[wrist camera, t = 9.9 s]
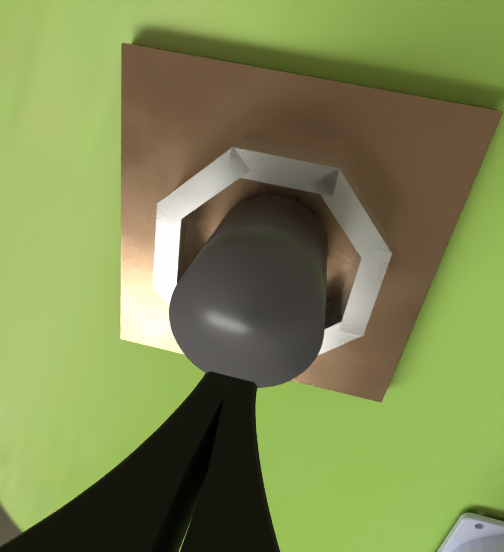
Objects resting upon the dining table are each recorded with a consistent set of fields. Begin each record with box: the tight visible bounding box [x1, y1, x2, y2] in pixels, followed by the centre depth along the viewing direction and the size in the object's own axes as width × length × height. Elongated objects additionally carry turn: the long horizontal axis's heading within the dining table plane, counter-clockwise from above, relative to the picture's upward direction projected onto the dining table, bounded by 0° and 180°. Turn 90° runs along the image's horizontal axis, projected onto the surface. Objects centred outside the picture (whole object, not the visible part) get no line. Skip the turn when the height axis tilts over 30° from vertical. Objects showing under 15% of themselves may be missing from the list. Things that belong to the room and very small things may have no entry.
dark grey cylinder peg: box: [169, 196, 328, 388], centre depth 16 cm, size 5×5×6 cm
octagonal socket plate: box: [121, 43, 503, 402], centre depth 18 cm, size 14×14×3 cm
